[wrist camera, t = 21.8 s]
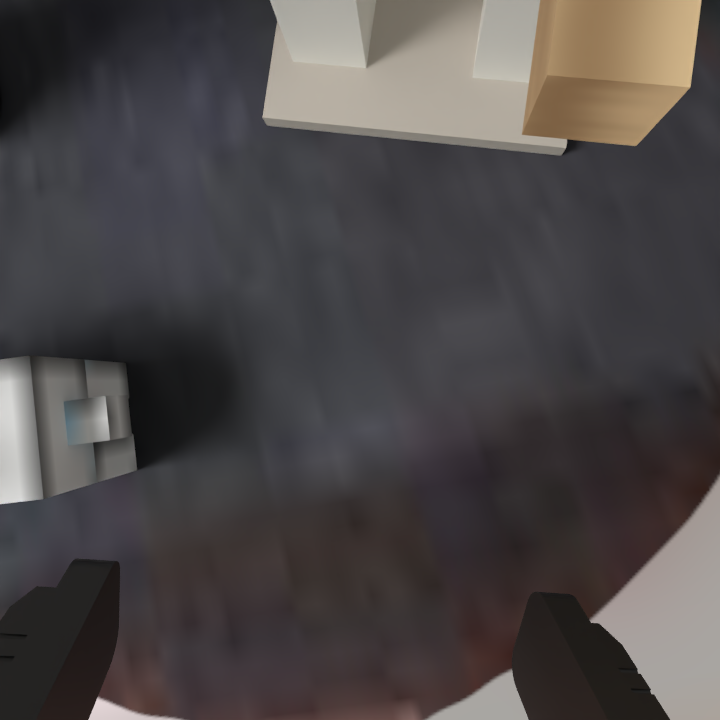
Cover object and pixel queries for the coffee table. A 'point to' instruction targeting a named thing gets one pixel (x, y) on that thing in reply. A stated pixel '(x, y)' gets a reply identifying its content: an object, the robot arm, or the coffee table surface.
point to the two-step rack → (406, 70)
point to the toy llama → (62, 425)
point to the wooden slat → (609, 67)
